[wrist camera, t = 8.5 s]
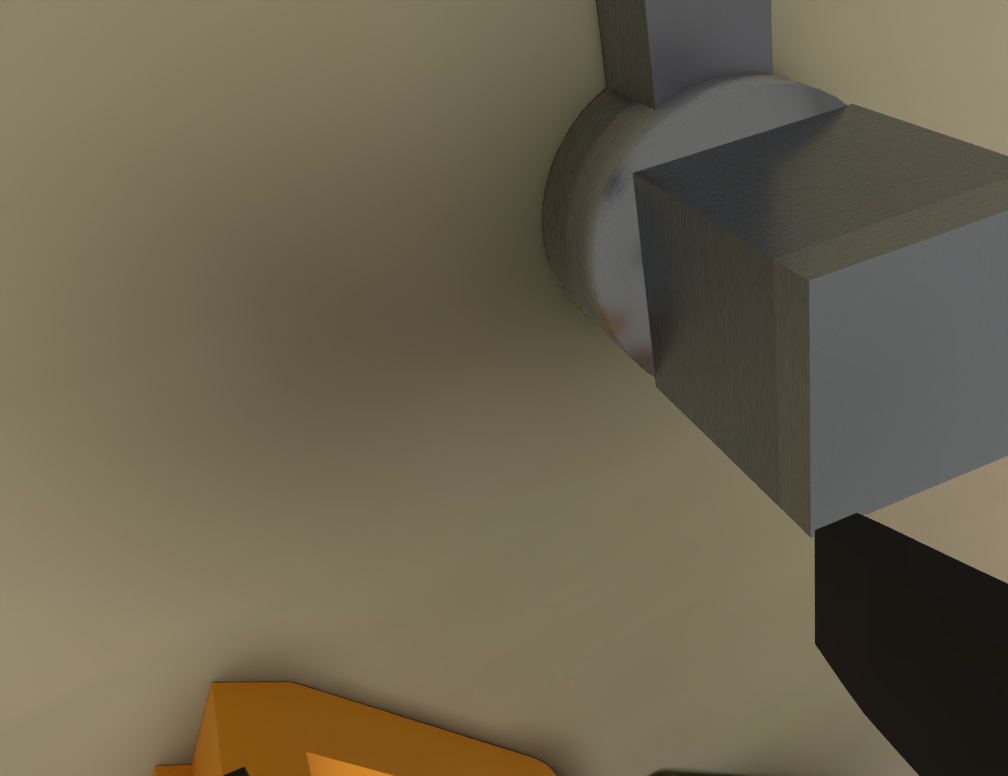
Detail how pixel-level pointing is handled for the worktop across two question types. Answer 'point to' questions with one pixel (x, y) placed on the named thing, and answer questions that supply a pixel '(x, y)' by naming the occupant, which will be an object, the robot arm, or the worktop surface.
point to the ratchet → (656, 139)
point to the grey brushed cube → (834, 306)
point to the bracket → (331, 739)
